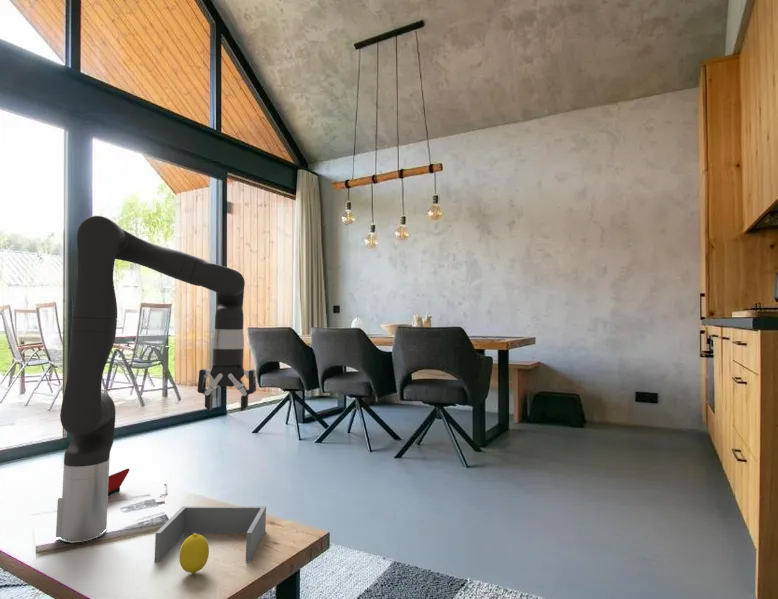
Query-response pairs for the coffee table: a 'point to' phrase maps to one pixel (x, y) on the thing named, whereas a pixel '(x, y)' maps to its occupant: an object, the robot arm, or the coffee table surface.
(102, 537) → the coffee table surface
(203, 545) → the lemon
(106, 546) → the coffee table surface
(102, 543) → the coffee table surface
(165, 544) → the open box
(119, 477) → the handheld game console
